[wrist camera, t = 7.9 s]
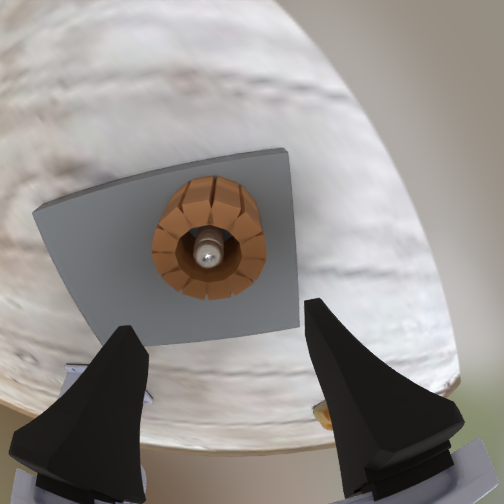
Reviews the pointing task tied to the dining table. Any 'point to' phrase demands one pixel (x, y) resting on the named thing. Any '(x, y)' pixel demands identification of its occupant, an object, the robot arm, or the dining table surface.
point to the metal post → (209, 246)
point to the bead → (217, 214)
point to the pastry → (323, 415)
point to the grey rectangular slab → (143, 267)
